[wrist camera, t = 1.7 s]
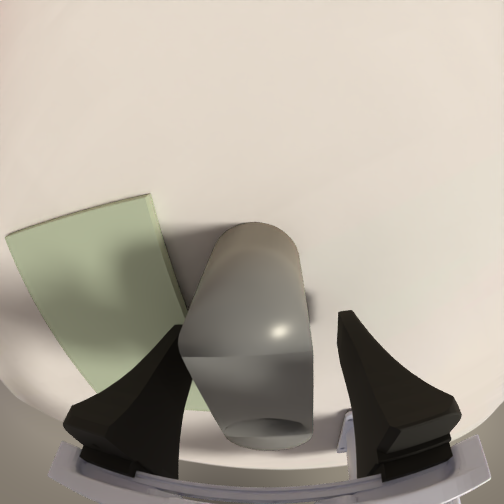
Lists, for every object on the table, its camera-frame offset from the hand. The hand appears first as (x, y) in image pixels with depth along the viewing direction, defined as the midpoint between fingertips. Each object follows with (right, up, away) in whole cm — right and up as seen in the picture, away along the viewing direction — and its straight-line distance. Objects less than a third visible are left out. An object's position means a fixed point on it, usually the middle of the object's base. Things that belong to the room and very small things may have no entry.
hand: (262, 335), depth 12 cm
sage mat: (-10, -1, +3) cm, 10 cm away
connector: (0, 0, +2) cm, 2 cm away
